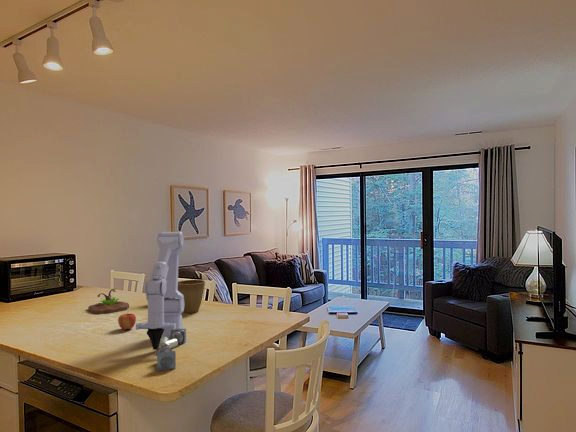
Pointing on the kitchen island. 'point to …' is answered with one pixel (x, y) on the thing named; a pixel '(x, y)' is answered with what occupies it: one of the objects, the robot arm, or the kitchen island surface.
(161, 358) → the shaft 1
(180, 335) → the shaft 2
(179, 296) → the robot arm
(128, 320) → the apple
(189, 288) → the plant pot
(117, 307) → the plant
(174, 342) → the pipe fitting
